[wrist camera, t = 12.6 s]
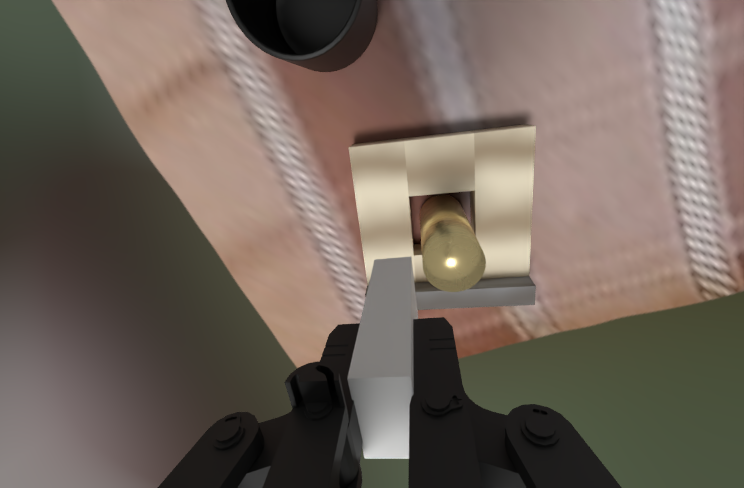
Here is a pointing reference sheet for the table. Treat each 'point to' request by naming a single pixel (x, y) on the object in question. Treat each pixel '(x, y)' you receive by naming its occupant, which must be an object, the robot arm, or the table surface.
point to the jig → (447, 175)
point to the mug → (308, 29)
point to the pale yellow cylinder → (449, 245)
